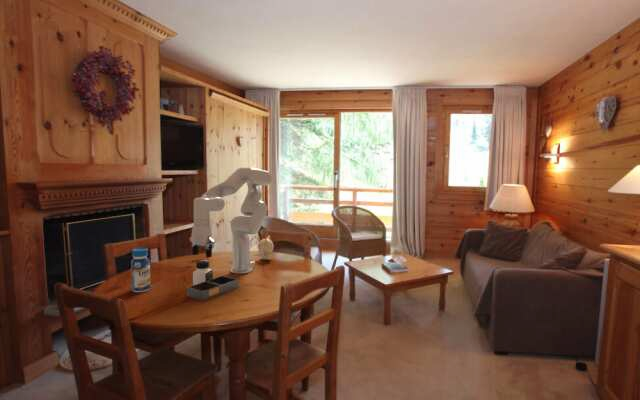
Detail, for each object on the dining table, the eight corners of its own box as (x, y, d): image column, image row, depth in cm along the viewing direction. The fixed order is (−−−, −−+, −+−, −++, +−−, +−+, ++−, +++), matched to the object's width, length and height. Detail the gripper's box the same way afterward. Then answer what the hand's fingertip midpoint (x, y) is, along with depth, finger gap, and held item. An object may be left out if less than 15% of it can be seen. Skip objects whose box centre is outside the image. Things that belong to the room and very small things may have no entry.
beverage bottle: (141, 286, 183) (140, 246, 181) (154, 288, 180) (153, 248, 178) (127, 291, 175) (125, 250, 173) (141, 293, 172) (139, 251, 170)
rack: (222, 283, 188) (222, 275, 188) (238, 287, 182) (238, 279, 182) (186, 296, 169) (186, 287, 169) (204, 301, 163) (204, 292, 163)
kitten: (261, 256, 245) (261, 234, 243) (276, 256, 244) (276, 234, 242) (255, 261, 230) (255, 238, 229) (270, 262, 229) (270, 238, 228)
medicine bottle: (205, 286, 182) (205, 263, 181) (192, 285, 184) (192, 262, 183) (212, 282, 189) (212, 259, 188) (200, 281, 191) (199, 258, 190)
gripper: (184, 221, 185) (184, 255, 186) (208, 224, 176) (208, 259, 177) (196, 220, 191) (196, 252, 193) (219, 223, 182) (220, 256, 184)
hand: (202, 255), depth 185 cm, fingers open, 9 cm apart
